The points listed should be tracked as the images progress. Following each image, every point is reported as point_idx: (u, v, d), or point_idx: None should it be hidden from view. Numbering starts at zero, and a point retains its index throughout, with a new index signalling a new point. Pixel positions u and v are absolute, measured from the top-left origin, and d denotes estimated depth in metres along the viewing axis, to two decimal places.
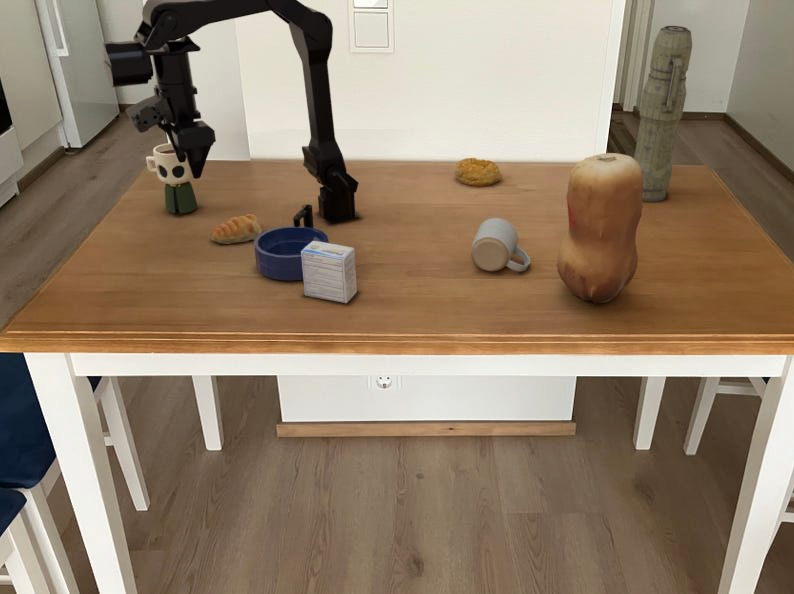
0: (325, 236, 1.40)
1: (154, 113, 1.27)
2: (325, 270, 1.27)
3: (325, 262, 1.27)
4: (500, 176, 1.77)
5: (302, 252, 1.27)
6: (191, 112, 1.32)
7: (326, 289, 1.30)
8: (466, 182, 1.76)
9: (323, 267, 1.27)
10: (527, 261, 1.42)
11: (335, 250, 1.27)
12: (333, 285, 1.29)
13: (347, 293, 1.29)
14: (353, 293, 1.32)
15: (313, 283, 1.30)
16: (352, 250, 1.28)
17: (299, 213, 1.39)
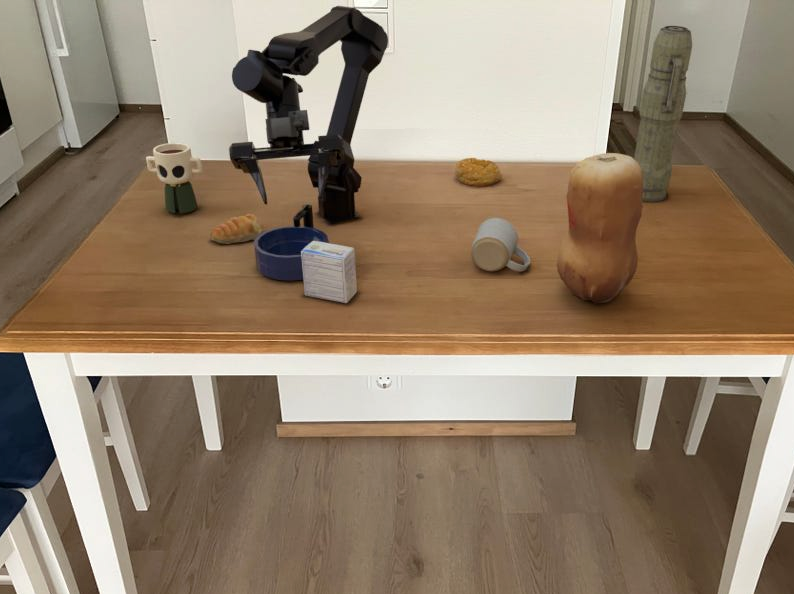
0: (325, 236, 1.40)
1: None
2: (325, 270, 1.27)
3: (325, 262, 1.27)
4: (500, 176, 1.77)
5: (302, 252, 1.27)
6: None
7: (326, 289, 1.30)
8: (466, 182, 1.76)
9: (323, 267, 1.27)
10: (527, 261, 1.42)
11: (335, 250, 1.27)
12: (333, 285, 1.29)
13: (347, 293, 1.29)
14: (353, 293, 1.32)
15: (313, 283, 1.30)
16: (352, 250, 1.28)
17: (299, 213, 1.39)
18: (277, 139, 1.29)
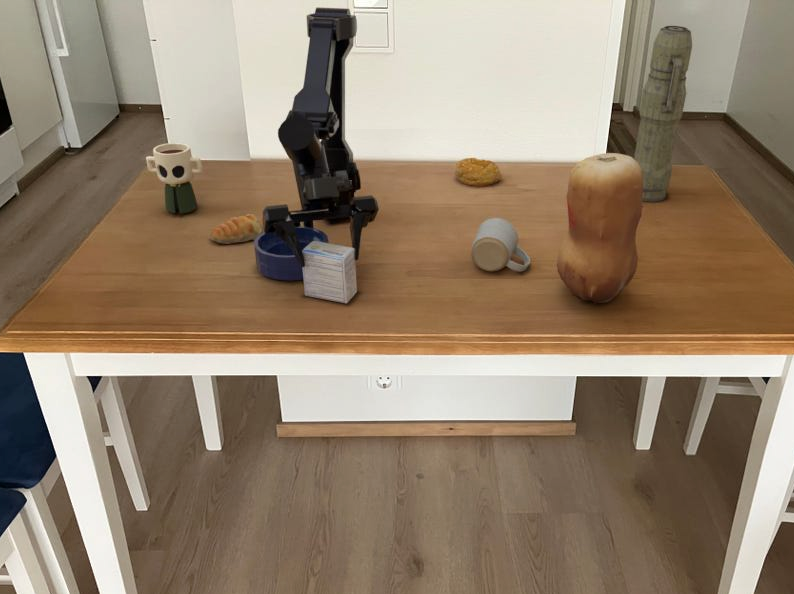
0: (325, 236, 1.40)
1: None
2: (325, 270, 1.27)
3: (325, 262, 1.27)
4: (500, 176, 1.77)
5: (302, 252, 1.27)
6: None
7: (326, 289, 1.30)
8: (466, 182, 1.76)
9: (323, 267, 1.27)
10: (527, 261, 1.42)
11: (335, 250, 1.27)
12: (333, 285, 1.29)
13: (347, 294, 1.29)
14: (353, 293, 1.31)
15: (313, 283, 1.30)
16: (352, 251, 1.28)
17: None
18: (313, 201, 1.26)
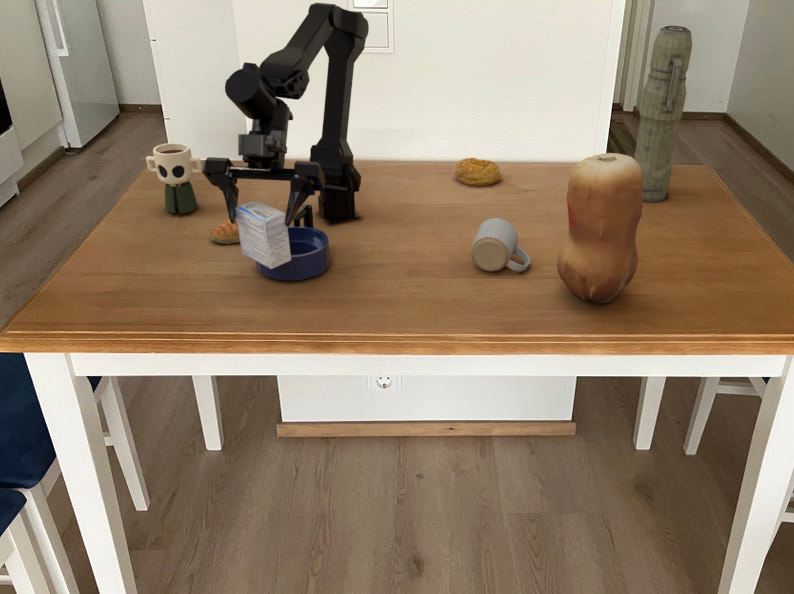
0: (325, 236, 1.40)
1: (285, 142, 1.21)
2: (252, 230, 1.24)
3: (252, 223, 1.23)
4: (500, 176, 1.77)
5: (236, 209, 1.25)
6: None
7: (255, 251, 1.26)
8: (466, 182, 1.76)
9: (251, 227, 1.24)
10: (527, 261, 1.42)
11: (265, 212, 1.23)
12: (259, 248, 1.25)
13: (271, 259, 1.25)
14: (283, 260, 1.27)
15: (246, 243, 1.27)
16: (282, 216, 1.23)
17: (299, 213, 1.39)
18: (253, 158, 1.23)
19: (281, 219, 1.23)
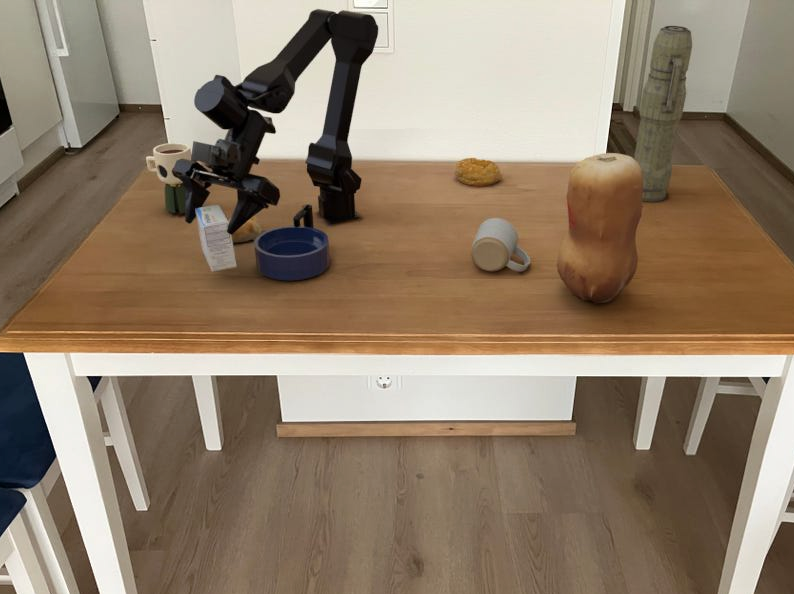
0: (325, 236, 1.40)
1: (237, 154, 1.25)
2: (201, 232, 1.30)
3: (200, 225, 1.29)
4: (500, 176, 1.77)
5: (195, 210, 1.32)
6: None
7: (205, 252, 1.32)
8: (466, 182, 1.76)
9: (200, 229, 1.30)
10: (527, 261, 1.42)
11: (213, 217, 1.29)
12: (205, 250, 1.31)
13: (212, 262, 1.30)
14: (227, 266, 1.31)
15: (202, 243, 1.33)
16: (224, 223, 1.27)
17: (299, 213, 1.39)
18: (213, 165, 1.29)
19: (223, 226, 1.27)
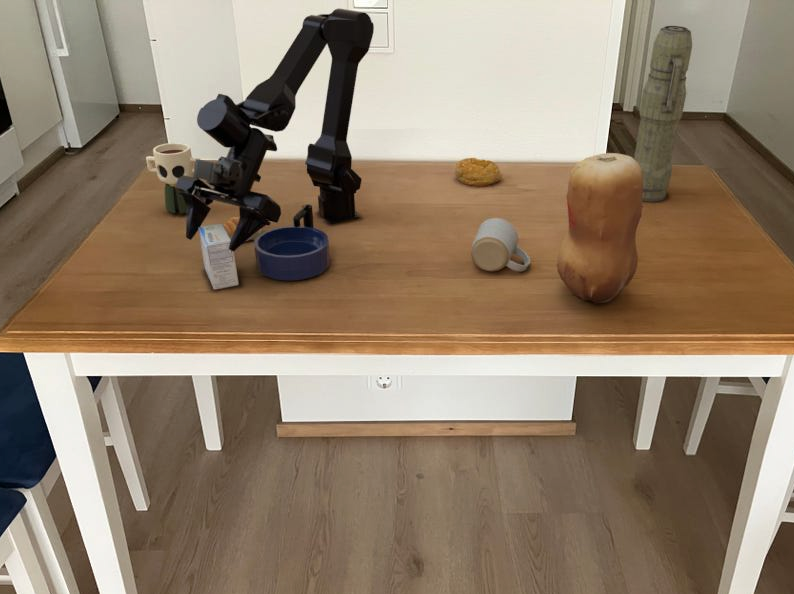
0: (325, 236, 1.40)
1: (239, 171, 1.26)
2: (204, 251, 1.32)
3: (203, 244, 1.31)
4: (500, 176, 1.77)
5: (198, 229, 1.34)
6: None
7: (207, 270, 1.34)
8: (466, 182, 1.76)
9: (203, 248, 1.32)
10: (527, 261, 1.42)
11: (216, 236, 1.30)
12: (208, 268, 1.32)
13: (214, 280, 1.32)
14: (229, 284, 1.33)
15: (204, 261, 1.35)
16: (227, 242, 1.29)
17: (299, 213, 1.39)
18: (215, 183, 1.30)
19: (226, 245, 1.29)
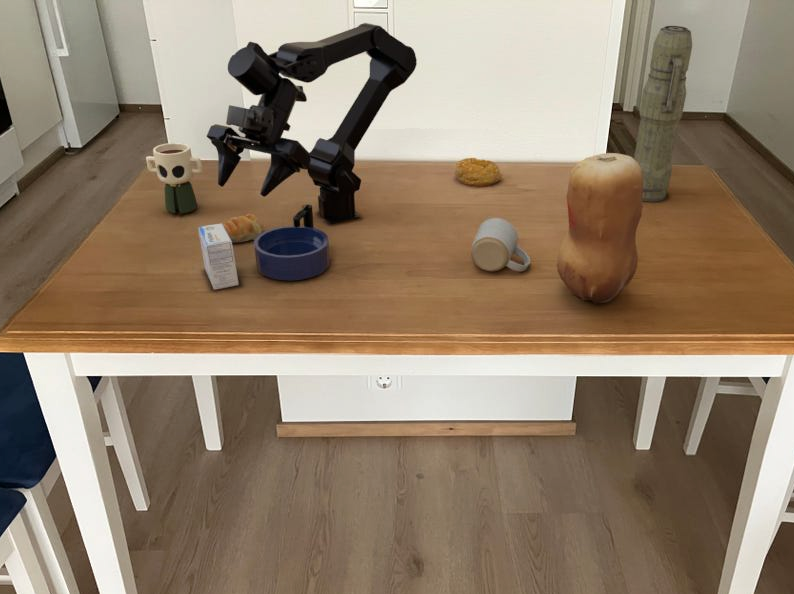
0: (325, 236, 1.40)
1: (271, 118, 1.30)
2: (204, 251, 1.32)
3: (203, 244, 1.31)
4: (500, 176, 1.77)
5: (198, 229, 1.34)
6: None
7: (207, 270, 1.34)
8: (466, 182, 1.76)
9: (203, 248, 1.32)
10: (527, 261, 1.42)
11: (216, 236, 1.30)
12: (208, 268, 1.32)
13: (214, 280, 1.32)
14: (229, 284, 1.33)
15: (204, 261, 1.35)
16: (227, 242, 1.29)
17: (299, 213, 1.39)
18: (247, 130, 1.34)
19: (226, 245, 1.29)
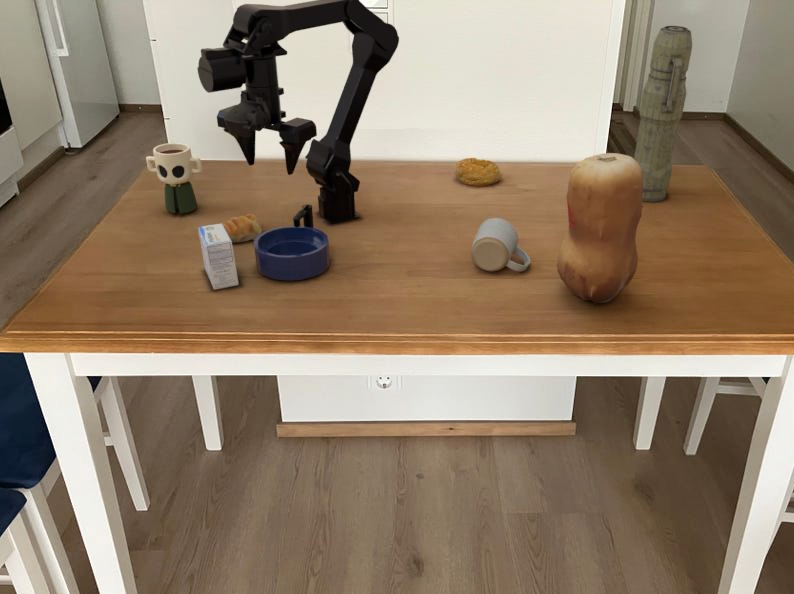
0: (325, 236, 1.40)
1: (264, 116, 1.33)
2: (204, 251, 1.32)
3: (203, 244, 1.31)
4: (500, 176, 1.77)
5: (198, 229, 1.34)
6: (280, 112, 1.39)
7: (207, 270, 1.34)
8: (466, 182, 1.76)
9: (203, 248, 1.32)
10: (527, 261, 1.42)
11: (215, 236, 1.30)
12: (208, 268, 1.32)
13: (214, 280, 1.32)
14: (229, 284, 1.33)
15: (204, 261, 1.35)
16: (227, 242, 1.29)
17: (299, 213, 1.39)
18: None
19: (226, 245, 1.29)
